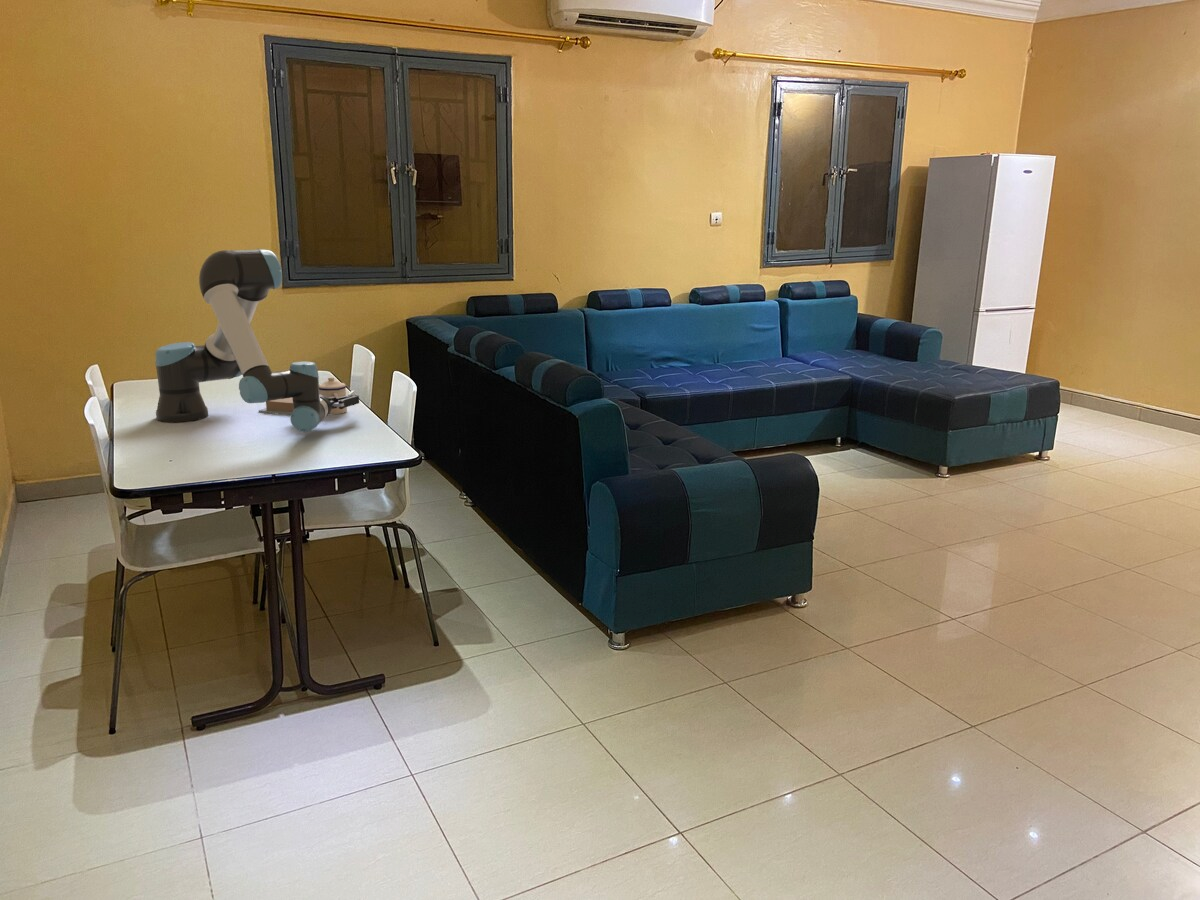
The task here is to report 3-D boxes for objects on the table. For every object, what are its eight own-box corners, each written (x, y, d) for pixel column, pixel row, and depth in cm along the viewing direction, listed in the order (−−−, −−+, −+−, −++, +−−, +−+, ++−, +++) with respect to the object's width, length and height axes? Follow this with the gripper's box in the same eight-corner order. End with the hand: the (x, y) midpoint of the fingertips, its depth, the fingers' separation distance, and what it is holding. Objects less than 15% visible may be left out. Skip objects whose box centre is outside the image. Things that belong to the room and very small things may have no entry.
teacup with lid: (317, 410, 293) (314, 376, 290) (344, 408, 297) (342, 374, 294) (323, 417, 282) (320, 382, 279) (352, 415, 286) (349, 380, 283)
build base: (258, 412, 289) (257, 401, 288) (288, 402, 304) (287, 392, 303) (300, 415, 285) (299, 404, 284) (328, 405, 300) (327, 395, 299)
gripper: (274, 421, 264) (294, 406, 285) (358, 420, 266) (371, 405, 286) (272, 396, 262) (292, 383, 283) (357, 396, 264) (370, 383, 284)
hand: (332, 394), depth 284 cm, fingers open, 13 cm apart
